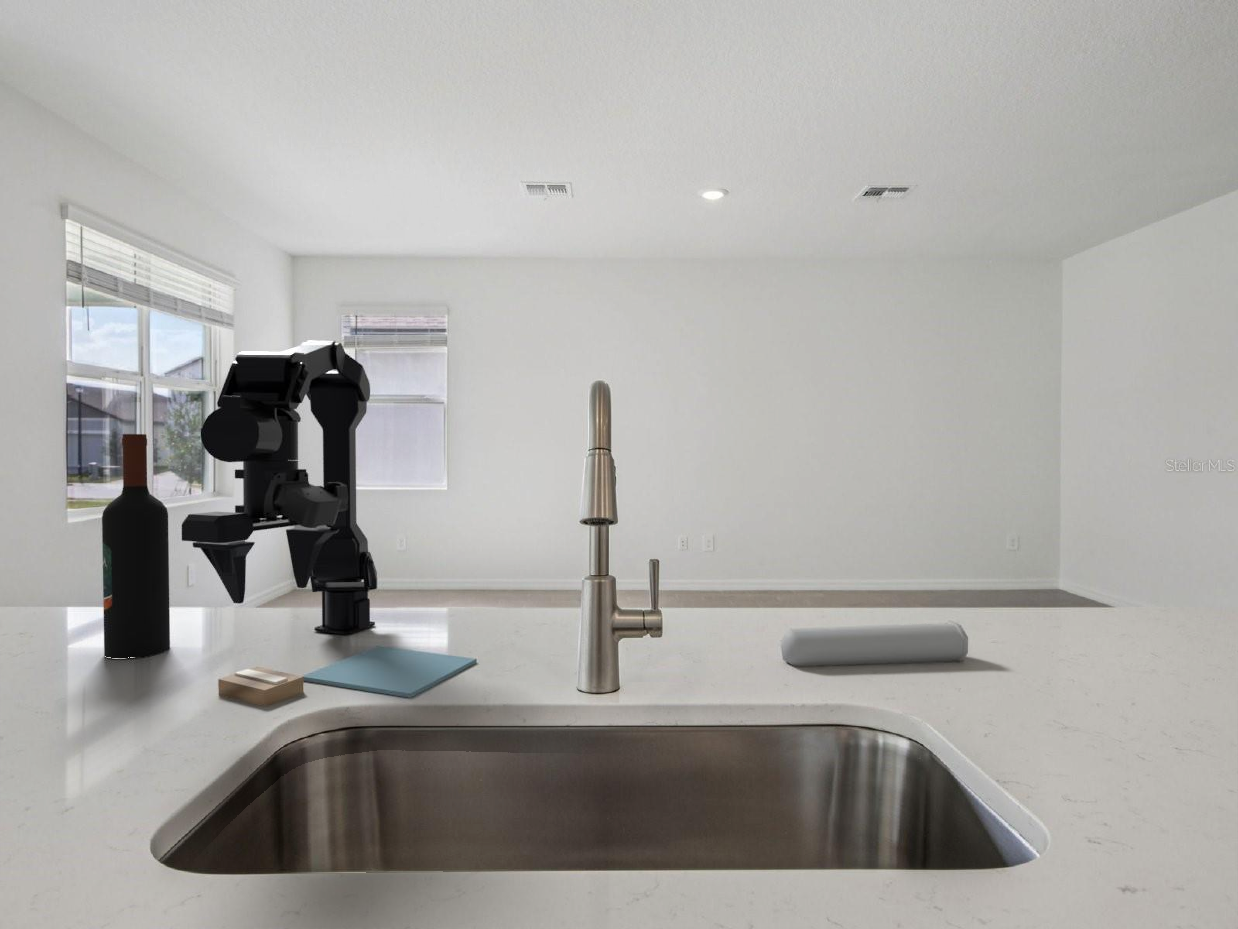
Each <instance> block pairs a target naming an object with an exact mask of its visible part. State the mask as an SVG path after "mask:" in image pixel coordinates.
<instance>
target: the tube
mask: <svg viewBox="0 0 1238 929" xmlns="http://www.w3.org/2000/svg"><path fill="white" fill-rule="evenodd" d="M779 642H780V650H781V658H782V660H783V661H784V662H786V663H789V665H792V666H793V665H794V666H793V667H817V666H816V665H825V666H840V665H839V664H853V665H873V664H874V665H875V664H877V665H879V664H904V663H907V664H909V663H931V662H932V663H935V662H939V663H940V662H964V660H965V659H966V658H967V655H968V653H969V637H968V635H967V633H966V631H965V630H964V628H963V627H962V625H961V624H960V623H958V622H955V621H952V620H948V621H947V622H934V623H932V622H931V623H912V624H911V623H909V624H908V623H907V624H886V625H884V624H879V625H855V626H854V625H852V626H827V627H799V628H790V629H789V630H787V631H786V632H785V633H784V634H783V636H782V637H781V639H780V640H779Z"/></svg>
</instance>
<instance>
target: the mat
mask: <svg viewBox="0 0 1238 929" xmlns="http://www.w3.org/2000/svg"><path fill="white" fill-rule="evenodd" d="M476 663H477V658H474V657H465V656H459V655H458V656H457V655H450V654H443V653H435V652H427V651H422V650H421V651H419V650H413V649H404V648H397V647H390V646H383V645H377V646H374V647H371V648H369V649H367V650H365V651H362V652H359V653H357V654H354V655H352V656H350V657H347V658H344V659H342V660H339V661H336V662H333V663H332V664H329V665H327V666H324V667H322V668H318V669H316V670H314V671H311V672H309V673H306V674H304V675H301V676H302V677H303V682H309V683H315V684H322V685H328V686H333V687H339V688H340V687H341V688H347V689H353V690H360V691H365V692H371V693H377V694H378V693H379V694H385V695H391V696H397V697H401V698H402V697H404V698H408V699H411V698H413V697H415V696H416V695H419V694H420V693H422V692H425V691H426V690H427V689H430V688H432V687H434V686H436V685H437V684H439V683H441V682H443V681H444V680H446V679H448V678H450V677H452V676H454V675H456V674H459V673H460V672H461V671H464V670H466V669H467V668H468V667H470V666H473V665H475V664H476Z"/></svg>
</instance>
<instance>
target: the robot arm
mask: <svg viewBox="0 0 1238 929" xmlns="http://www.w3.org/2000/svg"><path fill="white" fill-rule="evenodd" d="M234 360H235V361H233V362H232V363H231V365H230V367H229V370H228V371H227V376H226V378H225V380H224V383H223V385H222V388H221V392H220V394H219V397H218V400H217V403H216V405H217V408H216V409H215V410H213V411H212V412H211V413H210V414H209V415H207V417H206V419H205V420H204V421H203V425H202V427H201V428H200V438H201V443H202V445H203V447H204V449H205V450H206V452H207V453H208V454H209V455H210V456H211V457H212V458H214V459H217V460H218V461H221V462H226V463H238V462H239V463H241V462H242V463H243V464H242V465H243V466H242V469H241V468H239V469H234V479H241V480H243V482H242V483H243V484H242V486H243V489H242V490H243V492H242V493H243V496H242V497H243V501H242V502H243V504H239V505H238V504H237V505H234V512H233V511H232V512H231V511H209V512H199V513H197V512H196V513H189V514H188V515H187V516H186V517H185V519H184V520H183V521H182V523H181V541H182V542H192V548H195V549H196V548H197V549H200V550H201V551H202V553H203V554H204V556H205V557H206V559H207V560H208V561H209V563H210V564H211V566H212V568H214V570H215V572H216V574H217V576H218V577H219V579H220V581H221V582H222V584H223V586H224V588H225V590H226V592H227V594H228V595H229V597H230V599H231V601H232V603H234V604H243V603H244V601H245V594H246V575H247V574H246V573H247V572H246V570H247V569H246V566H247V564H246V563H247V555H248V554H249V552H250V551H252V550H251V549H252V548H253V547H254V546H255V543H256V542H255V541H248V539H249V538H250V537H251V535H252V534H253V533H254V532H255V531H262V530H272V529H278V528H285V527H293V526H294V527H293V528H287V529H285V532H286V533H285V534H286V538H287V544H288V549H289V554H290V562H291V566H292V572H293V573H292V574H293V576H294V580H295V584H296V587H297V589H298V588H299V589H305V588H307V586H308V584H309V580H310V586H311V592H312V593H317V592H321V625H317V626H315V627H314V632H323V633H328V634H338V635H345V636H347V635H351V634H353V633H357V632H360V631H362V630H365V629H368V628H371V627H373V626H375V625H376V622H375V621H372V620H371V617H370V616H371V615H370V614H371V610H370V609H371V601H370V600H371V599H370V598H369V592H370V591H373V590H377V589H378V572H377V569H376V568H377V567H376V566H375V562H374V559H373V557H372V556H373V555H372V553H371V552H370V551H369V545H368V544H369V542H368V538H367V537H366V535H365V534H364V532H363V531H362V529H361V528H360V526H359V525H358V524H357V461H356V459H357V456H356V455H357V453H356V452H357V449H356V447H357V446H356V444H357V443H356V442H357V441H356V437H357V436H356V432H357V431H356V429H357V428H358V426H360V423H361V422H362V421H363V418H364V417H365V415H366V413H367V408H368V406H367V405H368V404H367V402H369V401H370V397H371V384H370V380H369V378H368V375H367V373H366V370H365V368H364V366H363V365H362V364H361V363H359V362H358V360H356V359H354V358H353V357H352V356H350V355H349V354H347V353H346V351H345V349H344V346H343V345H342V343H340V342H337V341H336V340H307V341H306V342H302V343H301V344H300V345H297V346H294V347H291V348H288V349H284V350H282V351H241V352H239V353H238V354H237V355H236V356H235V358H234ZM305 396H307V398H308V400H309V402H310V404H309V406H310V411H311V414H312V415H313V416H314V418H315V420H316V422H317V423H318V424H319V426H320V427H321V429H322V460H323V462H322V464H323V465H322V469H323V470H322V471H323V472H322V473H323V477H322V478H323V480H322V481H323V484H322V485H313V484H311V483H310V482H309V473H308V472H307V468H306V469H305V468H299V423H300V422H301V421H302V420H301V416H300V414H299V412H298V411H296V410H297V409H298V407H299V405H300V404H303V401H304V399H305Z"/></svg>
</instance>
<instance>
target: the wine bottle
mask: <svg viewBox="0 0 1238 929" xmlns="http://www.w3.org/2000/svg"><path fill="white" fill-rule="evenodd" d="M121 446H122V482H123V485H122V489H121V490H122V491H121V493H120V495H119V496H117V497H116V498H115V499H113V500H112V501H111V502H109V503H108V504H107V506H106V507H105V508H104V510H103V512H102V516H101V534H102V535H101V540H102V543H101V544H102V591H103V592H102V594H103V596H102V598H103V601H102V602H103V603H102V604H103V606H102V607H103V646H104V647H103V650H104V651H103V653H104V656H106V657H111V658H128V657H129V658H130V657H143V658H146V657H145V656H148V657H151V655H153V656H156V655H160V654H162V653H165V652H167V651H169V650H170V649H171V629H170V628H171V626H170V624H171V623H170V622H171V621H170V620H171V619H170V613H171V612H170V561H169V560H170V558H169V557H170V556H169V555H170V551H169V548H170V547H169V512H168V509H167V507H166V506H165V504H164V503H163V502H162V501H161V500H160V499H158V498H156V496H154V495H152V494H151V493H150V491H149V488H148V456H147V455H148V451H147V450H148V449H147V446H148V437H147V433H144V434H143V433H141V434H140V433H122V438H121ZM106 657H105V658H106Z"/></svg>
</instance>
